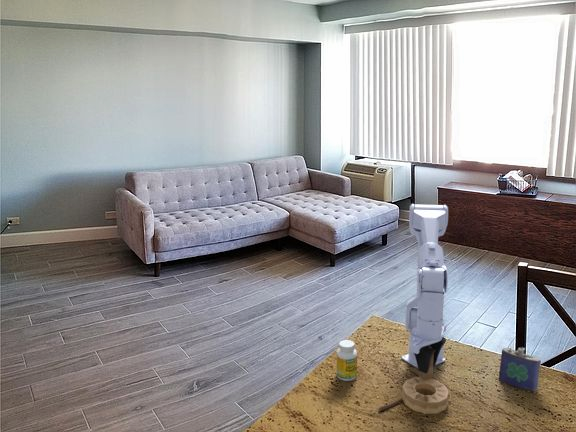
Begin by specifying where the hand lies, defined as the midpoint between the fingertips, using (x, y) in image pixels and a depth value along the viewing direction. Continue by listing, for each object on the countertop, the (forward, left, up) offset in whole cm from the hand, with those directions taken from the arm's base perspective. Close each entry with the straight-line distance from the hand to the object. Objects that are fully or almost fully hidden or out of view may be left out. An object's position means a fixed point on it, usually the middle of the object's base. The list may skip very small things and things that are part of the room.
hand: (426, 368), depth 120 cm
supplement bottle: (+9, -19, -9) cm, 23 cm away
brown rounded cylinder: (0, 0, -2) cm, 2 cm away
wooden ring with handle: (+4, 0, -9) cm, 9 cm away
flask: (-24, +9, -9) cm, 27 cm away
